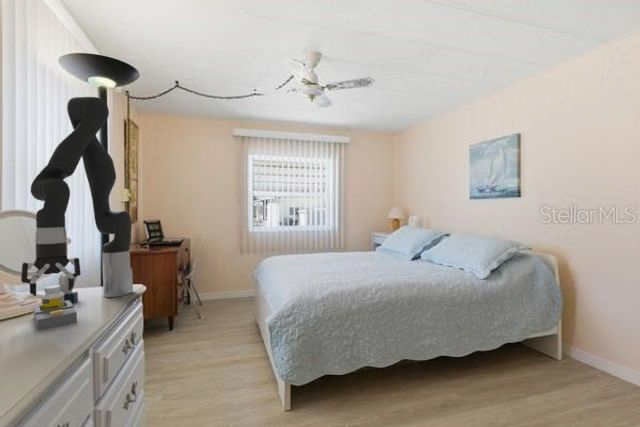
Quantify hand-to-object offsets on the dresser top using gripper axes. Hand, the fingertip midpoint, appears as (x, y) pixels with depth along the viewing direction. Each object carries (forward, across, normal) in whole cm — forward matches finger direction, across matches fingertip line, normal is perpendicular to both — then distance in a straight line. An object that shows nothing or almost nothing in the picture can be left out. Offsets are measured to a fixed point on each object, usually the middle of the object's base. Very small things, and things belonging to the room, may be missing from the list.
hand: (52, 292), depth 101 cm
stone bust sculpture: (+8, -6, -16) cm, 19 cm away
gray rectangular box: (+8, 0, 0) cm, 8 cm away
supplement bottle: (+8, 0, -1) cm, 8 cm away
